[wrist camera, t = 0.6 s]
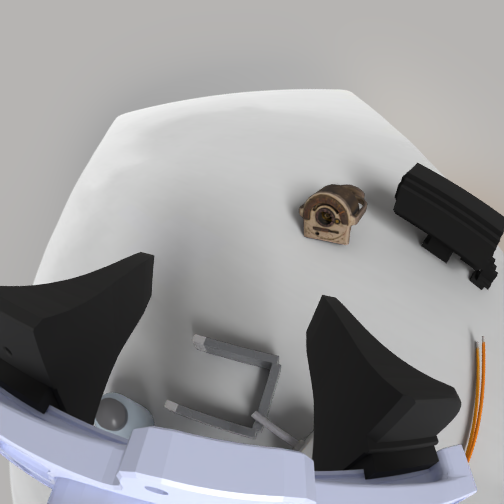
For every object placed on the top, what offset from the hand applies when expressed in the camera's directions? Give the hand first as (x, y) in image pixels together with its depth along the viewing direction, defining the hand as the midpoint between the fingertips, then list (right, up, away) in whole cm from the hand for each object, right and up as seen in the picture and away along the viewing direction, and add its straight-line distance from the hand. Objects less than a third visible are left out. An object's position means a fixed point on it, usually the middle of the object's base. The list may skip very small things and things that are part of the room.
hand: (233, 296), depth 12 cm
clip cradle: (-1, -12, +14) cm, 18 cm away
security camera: (+28, +2, +23) cm, 36 cm away
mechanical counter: (+13, +6, +29) cm, 32 cm away
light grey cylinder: (-11, -15, +11) cm, 22 cm away
